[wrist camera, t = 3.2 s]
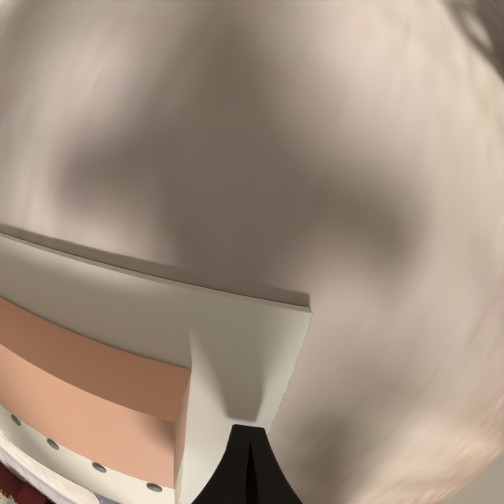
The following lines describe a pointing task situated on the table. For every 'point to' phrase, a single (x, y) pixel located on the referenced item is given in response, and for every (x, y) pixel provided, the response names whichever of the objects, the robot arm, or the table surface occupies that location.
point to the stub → (94, 396)
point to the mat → (170, 338)
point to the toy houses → (19, 489)
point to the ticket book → (86, 467)
